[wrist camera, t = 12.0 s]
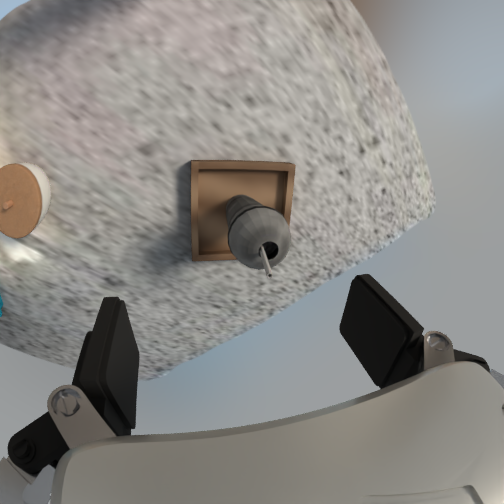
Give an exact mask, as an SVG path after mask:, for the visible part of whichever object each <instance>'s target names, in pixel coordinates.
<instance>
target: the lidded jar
mask: <svg viewBox="0 0 504 504" xmlns="http://www.w3.org/2000/svg"><path fill="white" fill-rule="evenodd" d="M50 202H51V185H50V182H49V179H48V177H47V175H46V174H45V172H44V171H43V170H42V169H41V168H40V167H38V166H37V165H35V164H32V163H27V162H20V163H15V164H9V165H6V166H4V167H2V168H1V169H0V231H1V232H2V233H3V234H5V235H7V236H9V237H11V238H22V237H25V236H26V235H28V234H29V233H30V232H32V230H33V229H34V228H35V227H36V226H37V225H38V224H39V223H40V222H41V221H42V220H43V218H44V217H45V215H46V213H47V211H48V209H49V206H50Z"/></svg>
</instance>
